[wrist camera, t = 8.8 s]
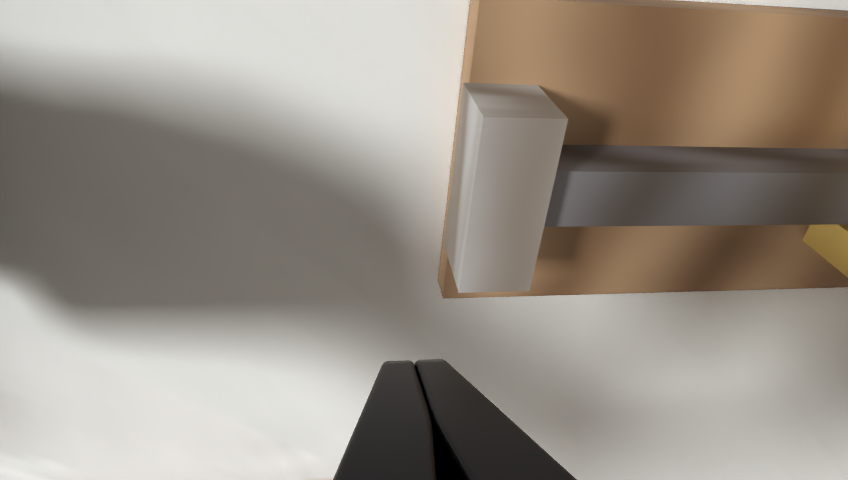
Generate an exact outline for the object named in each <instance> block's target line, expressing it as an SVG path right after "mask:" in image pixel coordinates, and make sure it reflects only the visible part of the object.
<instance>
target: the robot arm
mask: <svg viewBox="0 0 848 480" xmlns="http://www.w3.org/2000/svg"><path fill="white" fill-rule="evenodd" d="M333 480H576V479H575V478H574V477H573V476H572V475H571V474H570V473H569V472H568V471H566V470H565V469H564V468H563V467H562V466H561V465H560V464H559V463H558V462H557V461H555V460H554V459H553V458H552V457H551V456H550V455H549V454H548V453H547V452H546V451H544V450H543V449H542V448H541V447H540V446H539V445H538V444H537V443H536V442H534V441H533V440H532V439H531V438H530V437H529V436H528V435H527V434H526V433H525V432H523V431H522V430H521V429H520V428H519V427H518V426H517V425H516V424H515V423H514V422H512V421H511V420H510V419H509V418H508V417H507V416H506V415H505V414H504V413H502V412H501V411H500V410H499V409H498V408H497V407H496V406H495V405H494V404H493V403H491V402H490V401H489V400H488V399H487V398H486V397H485V396H484V395H483V394H482V393H480V392H479V391H478V390H477V389H476V388H475V387H474V386H473V385H472V384H470V383H469V382H468V381H467V380H466V379H465V378H464V377H463V376H462V375H461V374H459V373H458V372H457V371H456V370H455V369H454V368H453V367H452V366H451V365H450V364H448V363H447V362H446V361H444V360H442V359H434V360H418V361H416V362H415V364H413V362H411V361H408V360H407V361H387V362H384V363H383V365H382V366H381V369H380V371H379V373H378V376H377V378H376V380H375V383H374V385H373V388H372V390H371V392H370V395H369V397H368V399H367V402H366V404H365V406H364V409H363V411H362V413H361V416H360V418H359V420H358V423H357V425H356V427H355V430H354V432H353V434H352V437H351V439H350V441H349V444H348V446H347V448H346V451H345V453H344V455H343V458H342V460H341V462H340V465H339V467H338V469H337V472H336V474H335V476H334V479H333Z"/></svg>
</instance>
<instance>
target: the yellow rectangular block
mask: <svg viewBox="0 0 848 480" xmlns="http://www.w3.org/2000/svg"><path fill="white" fill-rule="evenodd" d="M803 241H804V242H805V243H806V244H807V245H809V246H810V247H811V248H812V249H814V250H815V251H816V252H817V253H818V254H820V255H821V256H822V257H823V258H824V259H826V260H827V261H828V262H829V263H831V264H832V265H833V266H834V267H835V268H837V269H838V270H839V271H840V272H842V273H843V274H844V275H845V276H846V277H848V224H828V225H810V226H809V228H808V230H807V232H806V234H805V236H804V238H803Z"/></svg>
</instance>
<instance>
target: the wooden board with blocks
mask: <svg viewBox="0 0 848 480" xmlns="http://www.w3.org/2000/svg"><path fill="white" fill-rule="evenodd" d="M828 224H848V11H843V10H827V9H810V8H793V7H776V6H759V5H742V4H725V3H708V2H691V1H674V0H470V5H469V14H468V23H467V31H466V40H465V49H464V58H463V66H462V75H461V84H460V92H459V101H458V110H457V118H456V127H455V136H454V144H453V153H452V162H451V170H450V179H449V188H448V196H447V205H446V214H445V222H444V231H443V240H442V248H441V257H440V266H439V274H438V282H439V286H440V289H441V293H442V297H443V298H474V297H510V296H546V295H582V294H618V293H654V292H690V291H726V290H762V289H798V288H834V287H848V277H846V276H845V275H844V274H843V273H842V272H840V271H839V270H838V269H837V268H835V267H834V266H833V265H832V264H831V263H829V262H828V261H827V260H826V259H824V258H823V257H822V256H821V255H820V254H818V253H817V252H816V251H815V250H814V249H812V248H811V247H810V246H809V245H807V244H806V243H805V242H804V241H803V238H804V236H805V234H806V232H807V230H808V228H809V226H810V225H828Z"/></svg>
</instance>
